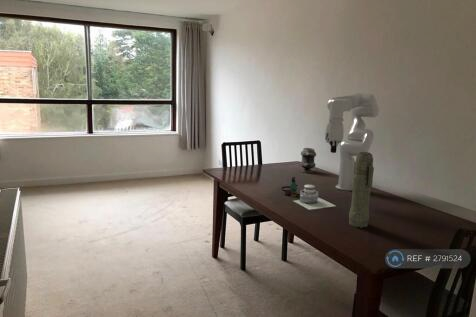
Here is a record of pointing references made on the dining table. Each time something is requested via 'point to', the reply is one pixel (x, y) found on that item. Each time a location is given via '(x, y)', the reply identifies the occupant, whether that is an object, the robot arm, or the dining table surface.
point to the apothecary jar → (308, 160)
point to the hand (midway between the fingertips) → (333, 152)
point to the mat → (319, 204)
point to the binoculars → (293, 188)
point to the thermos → (361, 190)
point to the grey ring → (308, 197)
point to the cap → (309, 189)
